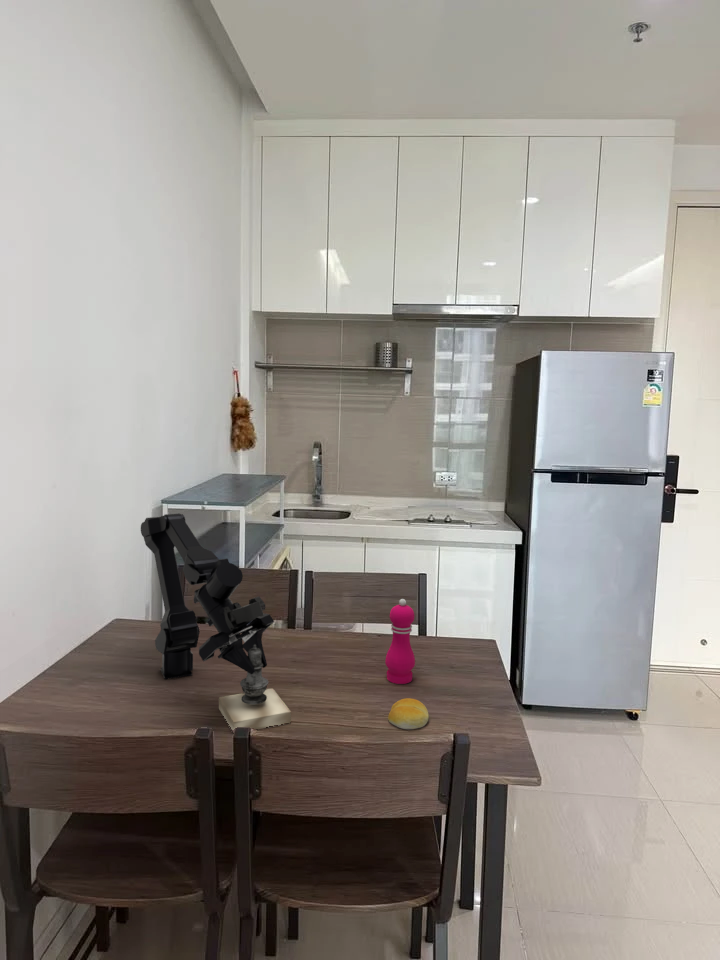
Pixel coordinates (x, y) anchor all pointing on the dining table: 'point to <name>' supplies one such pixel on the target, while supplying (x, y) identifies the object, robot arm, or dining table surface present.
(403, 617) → the pepper mill
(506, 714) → the dining table surface
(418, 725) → the bread roll
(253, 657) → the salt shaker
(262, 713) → the plate
